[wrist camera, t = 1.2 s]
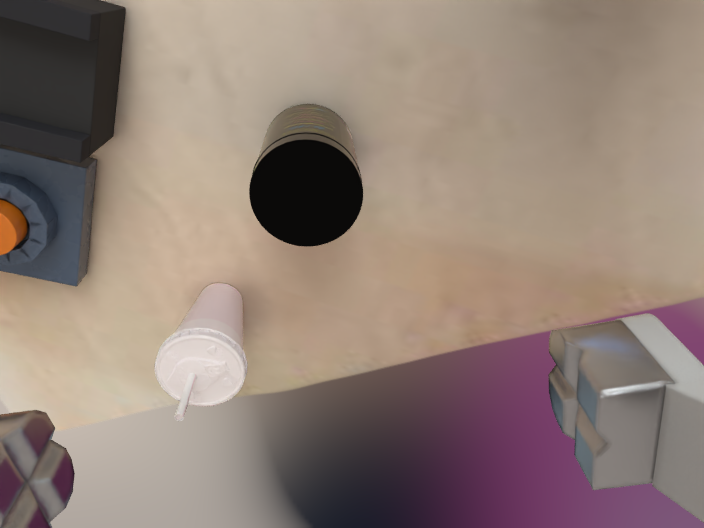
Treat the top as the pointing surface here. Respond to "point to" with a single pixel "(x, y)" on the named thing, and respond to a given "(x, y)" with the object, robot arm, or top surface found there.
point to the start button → (11, 227)
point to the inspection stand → (59, 75)
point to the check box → (49, 214)
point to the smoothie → (205, 351)
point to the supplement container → (307, 177)
